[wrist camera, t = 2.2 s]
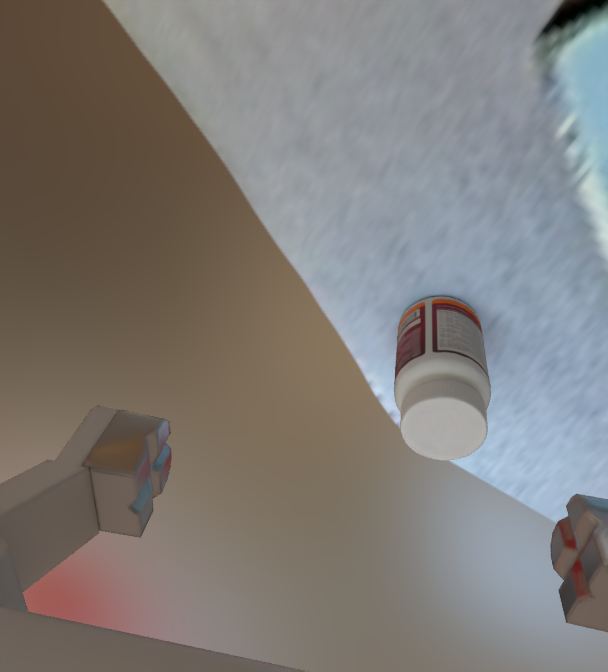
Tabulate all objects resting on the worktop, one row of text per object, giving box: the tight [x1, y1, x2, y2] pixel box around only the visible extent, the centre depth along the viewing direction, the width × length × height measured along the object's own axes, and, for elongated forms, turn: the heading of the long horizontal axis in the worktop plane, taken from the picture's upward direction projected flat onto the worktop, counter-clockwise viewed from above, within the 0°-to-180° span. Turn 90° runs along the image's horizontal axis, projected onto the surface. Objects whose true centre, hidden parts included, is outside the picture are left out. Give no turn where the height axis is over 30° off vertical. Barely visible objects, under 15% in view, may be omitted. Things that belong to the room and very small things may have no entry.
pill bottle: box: [394, 297, 491, 460], centre depth 39 cm, size 6×6×11 cm
